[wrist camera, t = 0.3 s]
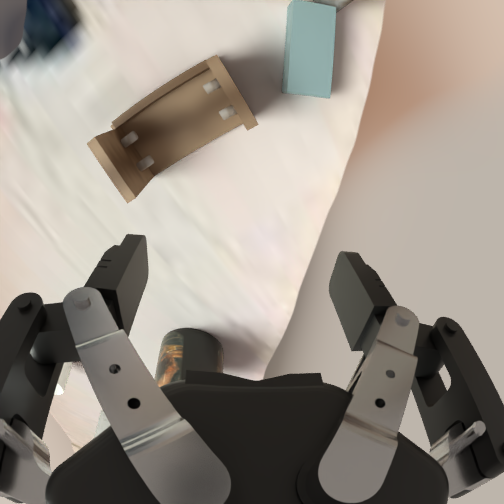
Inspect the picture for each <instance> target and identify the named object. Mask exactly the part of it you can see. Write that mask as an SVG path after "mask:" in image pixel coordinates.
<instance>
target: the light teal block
mask: <svg viewBox="0 0 504 504" xmlns="http://www.w3.org/2000/svg"><path fill="white" fill-rule="evenodd" d="M335 24H336V7H333V6H329V5H324V4H319V3H313V2H308V1H302V0H293V1H292V2H291V3H290V5H289V6H288V10H287V26H286V42H285V57H284V71H283V85H282V93H288V94H298V95H306V96H314V97H321V98H330V94H331V82H332V70H333V57H334V42H335Z"/></svg>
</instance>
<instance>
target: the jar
mask: <svg viewBox="0 0 504 504" xmlns="http://www.w3.org/2000/svg"><path fill="white" fill-rule="evenodd" d="M186 370H192V371H205V372H220V373H223V349H222V346H221V344H220V342H219V341H218V340H217V339H216V338H215V337H213V336H212V335H210V334H208V333H206V332H203V331H200V330H196V329H189V328H184V329H177V330H174V331H171V332H169V333H168V334H167V335H166V336H165V337H164V338H163V341H162V344H161V349H160V353H159V358H158V363H157V368H156V374H155V381H156V383H157V384H158V386H159V387H161V386H163V385H165V384H168V383H171V382H175V381H179V380H185V378H186Z"/></svg>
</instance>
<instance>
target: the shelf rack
mask: <svg viewBox="0 0 504 504" xmlns="http://www.w3.org/2000/svg"><path fill="white" fill-rule="evenodd" d="M241 124H244V126H245V128H246V129H247V130H249V129H251V128H253V127H255V126H257V125H258V123H257V121H256V119H255V118H254V116H253V114H252V112H251V111H250V109H249V107H248V105H247V104H246V102H245V100H244V98H243V97H242V95H241V93H240V92H239V90H238V88H237V87H236V85H235V83H234V82H233V80H232V78H231V77H230V75H229V73H228V72H227V70H226V68H225V67H224V65H223V64H222V62H221V60H220V59H219V57H218V56H217V55H215V56H213V57H211V58H209V59H208V60H205V61H203V62H201V63H199V64H197V65H196V66H194V67H192V68H190V69H189V70H187V71H185V72H184V73H182V74H180V75H179V76H177V77H175V78H174V79H172V80H171V81H169V82H168V83H166V84H164V85H163V86H161V87H160V88H158V89H157V90H155V91H154V92H152V93H151V94H149V95H148V96H146V97H145V98H144V99H142V100H141V101H139V102H138V103H137V104H135V105H134V106H132V107H131V108H130V109H128V110H127V111H126V112H124V113H123V114H122V115H120V116H119V117H118V118H117V119H115V120H114V121H113V122H112V125H111V128H112V129H113V130H111V131H108V132H106V133H103V134H101V135H98V136H96V137H94V138H93V139H92V140H91V141H89V142H88V143H87V145H88V146H89V148H90V149H91V151H92V153H93V154H94V156H95V157H96V159H97V160H98V162H99V163H100V165H101V166H102V168H103V169H104V170H105V172H106V173H107V175H108V176H109V178H110V179H111V181H112V182H113V184H114V185H115V186H116V188H117V189H118V191H119V192H120V194H121V195H122V196H123V198H124V199H125V201H126V202H127V203H129V202H130V201H132V200H133V199H135V198H136V197H137V196H138V195H139V193H140V192H141V191H142V190H143V189H144V187H145V186H146V185H147V184H148V183H149V182H150V180H151V179H152V178H153V177H154V176H155V175H157V174H158V173H160V172H161V171H163V170H164V169H166V168H168V167H169V166H171V165H172V164H174V163H175V162H177V161H179V160H180V159H182V158H183V157H185V156H187V155H188V154H190V153H192V152H193V151H195V150H197V149H198V148H200V147H202V146H203V145H205V144H207V143H209V142H210V141H212V140H214V139H216V138H217V137H219V136H221V135H223V134H224V133H226V132H228V131H230V130H232V129H234V128H235V127H237V126H239V125H241Z"/></svg>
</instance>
